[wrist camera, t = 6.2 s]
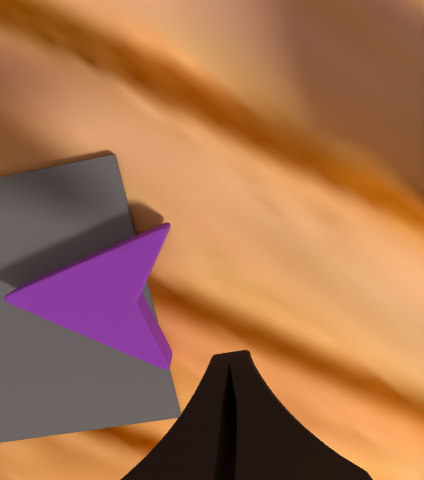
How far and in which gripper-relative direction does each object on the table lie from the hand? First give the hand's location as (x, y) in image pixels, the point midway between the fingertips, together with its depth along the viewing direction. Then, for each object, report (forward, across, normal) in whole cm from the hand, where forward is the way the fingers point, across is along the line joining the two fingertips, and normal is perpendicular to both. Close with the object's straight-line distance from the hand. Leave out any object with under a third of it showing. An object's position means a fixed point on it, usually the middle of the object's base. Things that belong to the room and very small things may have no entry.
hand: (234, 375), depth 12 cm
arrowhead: (+8, +3, 0) cm, 8 cm away
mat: (+9, +12, 0) cm, 15 cm away
